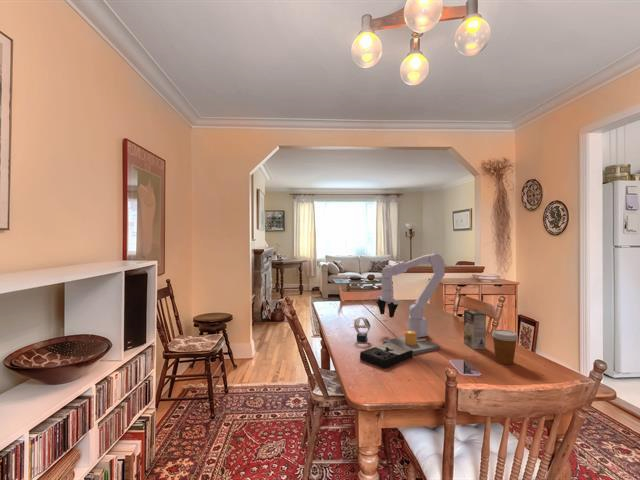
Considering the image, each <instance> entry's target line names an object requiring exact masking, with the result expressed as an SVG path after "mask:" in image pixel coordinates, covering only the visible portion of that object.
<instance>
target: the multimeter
mask: <svg viewBox="0 0 640 480" xmlns="http://www.w3.org/2000/svg"><path fill="white" fill-rule="evenodd" d="M413 356H414V355H413V351H412V350H411V349H407V348H404V347H401V346H398V345H394V344H391V343H386V344H384V343H383V344H380V345H377V346H373V347H372V348H368V349H365V350H361V351H360V352H359V360H360V361H362V362H366V363H368V364H370V365H372V366H376V367H379V368H380V369H382V370H383V369H385V370H386V369H388V368H390V367H393V366H396V365H398V364H401V363H403V362H405V361H408V360H410V359H413ZM400 362H401V363H400Z"/></svg>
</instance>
